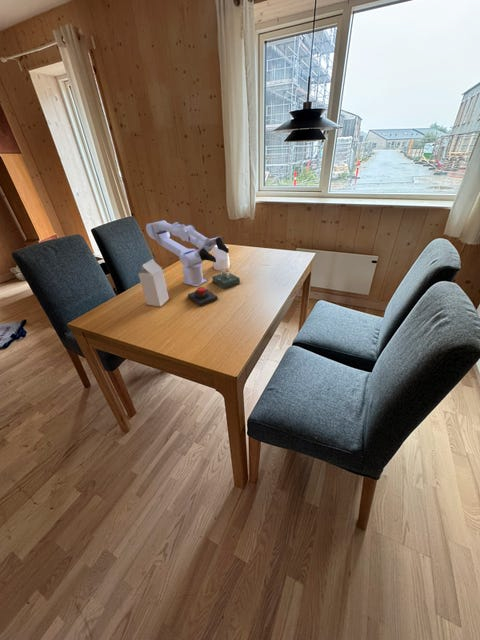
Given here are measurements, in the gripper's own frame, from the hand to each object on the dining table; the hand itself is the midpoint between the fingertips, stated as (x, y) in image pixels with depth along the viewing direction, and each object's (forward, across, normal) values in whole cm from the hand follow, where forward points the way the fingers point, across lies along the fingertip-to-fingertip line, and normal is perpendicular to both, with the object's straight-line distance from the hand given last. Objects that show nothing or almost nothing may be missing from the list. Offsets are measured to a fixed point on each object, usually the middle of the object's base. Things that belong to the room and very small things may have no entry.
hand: (221, 255), depth 112 cm
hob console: (-2, +3, +21) cm, 22 cm away
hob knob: (-3, +4, +18) cm, 19 cm away
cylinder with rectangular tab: (-18, +14, +29) cm, 37 cm away
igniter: (0, -14, +15) cm, 21 cm away
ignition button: (0, -14, +13) cm, 19 cm away
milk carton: (-13, -29, +15) cm, 36 cm away
